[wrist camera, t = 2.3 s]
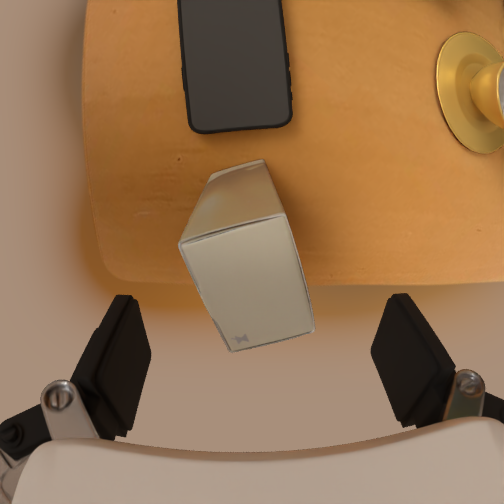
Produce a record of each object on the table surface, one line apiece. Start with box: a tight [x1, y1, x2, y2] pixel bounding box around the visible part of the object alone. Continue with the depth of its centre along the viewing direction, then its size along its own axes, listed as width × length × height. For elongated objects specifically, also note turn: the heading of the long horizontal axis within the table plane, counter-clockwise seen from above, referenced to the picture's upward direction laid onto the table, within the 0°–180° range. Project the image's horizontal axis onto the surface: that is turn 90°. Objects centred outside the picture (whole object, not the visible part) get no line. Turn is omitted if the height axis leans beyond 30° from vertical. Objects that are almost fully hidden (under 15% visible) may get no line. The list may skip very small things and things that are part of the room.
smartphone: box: [177, 0, 293, 134], centre depth 16 cm, size 7×1×15 cm
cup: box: [436, 32, 504, 154], centre depth 15 cm, size 12×12×5 cm
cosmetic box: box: [178, 159, 315, 353], centre depth 17 cm, size 6×4×12 cm
